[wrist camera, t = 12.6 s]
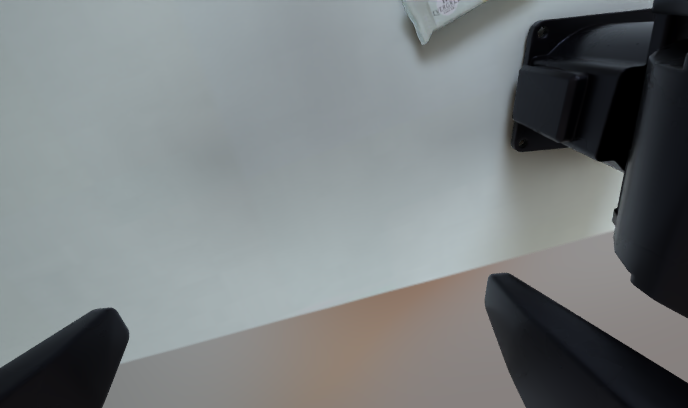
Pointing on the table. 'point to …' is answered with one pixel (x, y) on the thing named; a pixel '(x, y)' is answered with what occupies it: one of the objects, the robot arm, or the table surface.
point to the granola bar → (436, 14)
